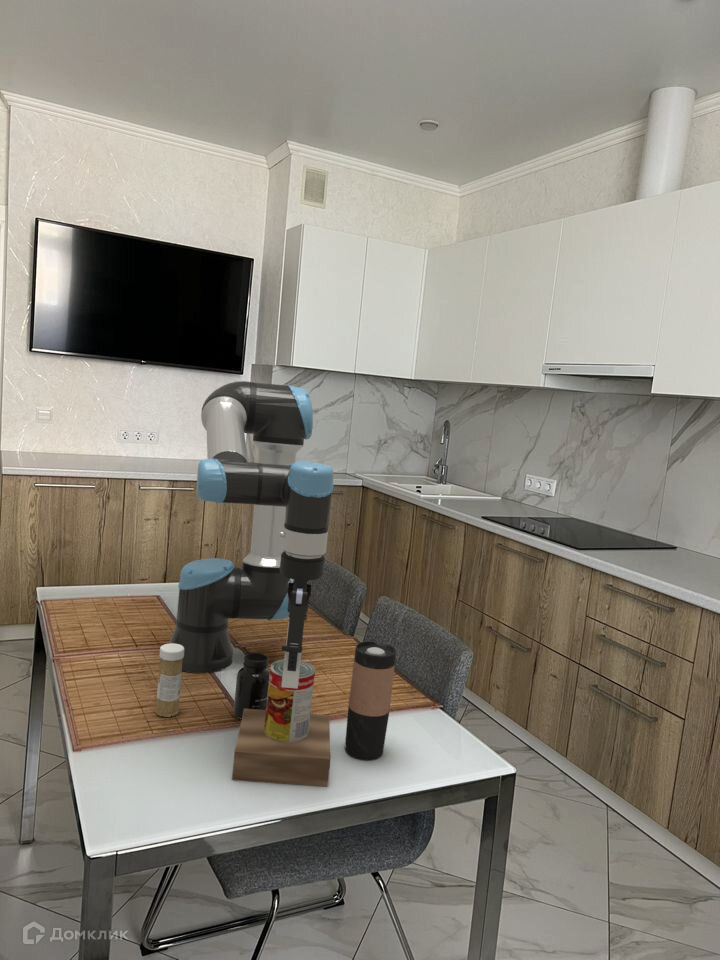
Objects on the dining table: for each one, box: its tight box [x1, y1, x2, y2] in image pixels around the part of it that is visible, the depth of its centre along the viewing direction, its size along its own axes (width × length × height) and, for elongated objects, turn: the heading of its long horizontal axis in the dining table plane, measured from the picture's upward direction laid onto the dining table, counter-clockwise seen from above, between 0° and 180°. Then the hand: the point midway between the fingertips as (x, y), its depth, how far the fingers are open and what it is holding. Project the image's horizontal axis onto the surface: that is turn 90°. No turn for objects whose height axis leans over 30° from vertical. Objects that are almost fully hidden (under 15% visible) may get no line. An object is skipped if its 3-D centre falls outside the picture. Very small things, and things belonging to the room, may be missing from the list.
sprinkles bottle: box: [154, 643, 184, 718], centre depth 143 cm, size 5×5×14 cm
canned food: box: [264, 659, 316, 743], centre depth 131 cm, size 8×8×12 cm
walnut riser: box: [231, 709, 332, 787], centre depth 132 cm, size 16×16×5 cm
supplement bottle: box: [232, 652, 270, 720], centre depth 147 cm, size 7×7×12 cm
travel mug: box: [344, 640, 397, 761], centre depth 137 cm, size 8×8×20 cm
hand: (291, 670), depth 130 cm, fingers open, 13 cm apart
